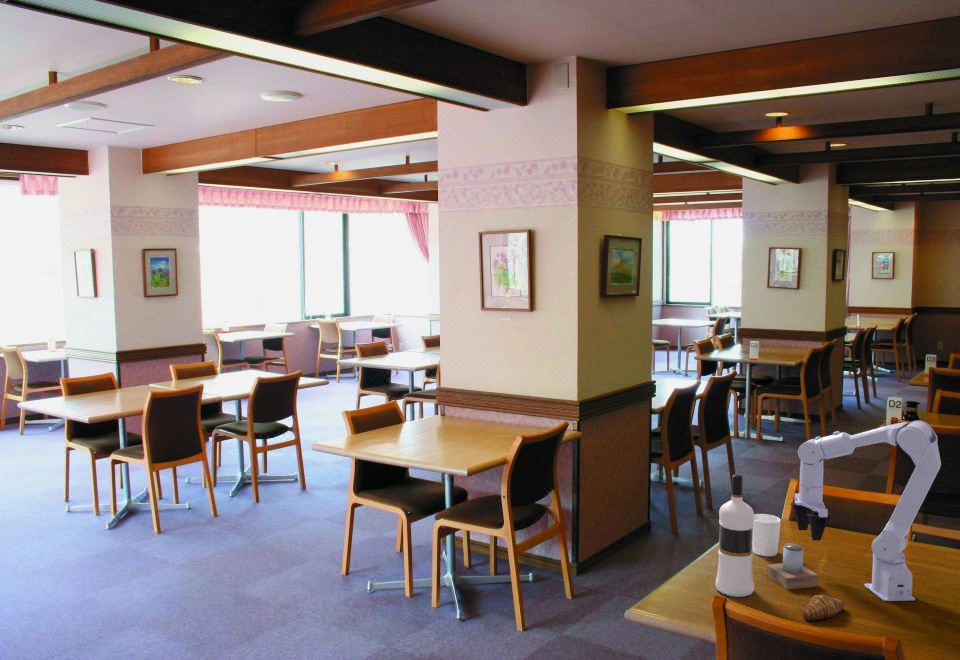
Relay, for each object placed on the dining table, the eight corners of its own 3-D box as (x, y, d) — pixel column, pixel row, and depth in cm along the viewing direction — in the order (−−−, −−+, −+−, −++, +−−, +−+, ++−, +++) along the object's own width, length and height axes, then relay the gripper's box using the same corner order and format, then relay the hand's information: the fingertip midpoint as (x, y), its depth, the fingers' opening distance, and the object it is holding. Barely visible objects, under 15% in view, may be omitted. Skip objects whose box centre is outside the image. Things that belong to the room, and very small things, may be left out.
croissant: (829, 603, 194) (830, 583, 193) (854, 614, 188) (855, 593, 187) (792, 616, 187) (793, 595, 186) (817, 627, 181) (818, 606, 181)
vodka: (713, 594, 198) (715, 477, 196) (717, 580, 207) (720, 468, 204) (752, 601, 195) (755, 481, 192) (755, 586, 203) (758, 472, 200)
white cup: (775, 547, 230) (776, 514, 229) (782, 558, 222) (783, 523, 221) (747, 546, 231) (748, 513, 230) (753, 557, 223) (754, 522, 222)
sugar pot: (805, 573, 204) (806, 549, 203) (787, 573, 204) (788, 549, 203) (796, 565, 209) (798, 542, 208) (779, 566, 209) (780, 542, 208)
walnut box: (817, 586, 203) (818, 575, 203) (786, 589, 201) (786, 578, 201) (796, 572, 212) (797, 561, 212) (766, 575, 210) (766, 564, 210)
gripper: (784, 477, 217) (782, 526, 218) (809, 493, 202) (807, 545, 204) (809, 477, 217) (807, 525, 218) (836, 492, 203) (834, 544, 204)
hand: (809, 534), depth 211 cm, fingers open, 7 cm apart
